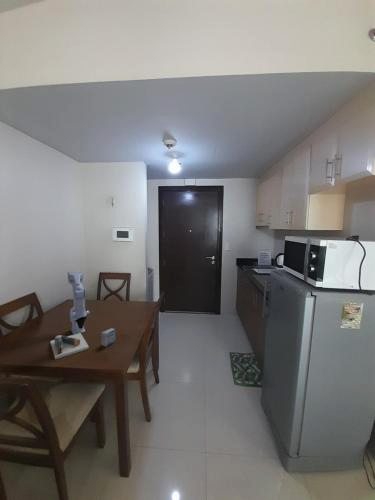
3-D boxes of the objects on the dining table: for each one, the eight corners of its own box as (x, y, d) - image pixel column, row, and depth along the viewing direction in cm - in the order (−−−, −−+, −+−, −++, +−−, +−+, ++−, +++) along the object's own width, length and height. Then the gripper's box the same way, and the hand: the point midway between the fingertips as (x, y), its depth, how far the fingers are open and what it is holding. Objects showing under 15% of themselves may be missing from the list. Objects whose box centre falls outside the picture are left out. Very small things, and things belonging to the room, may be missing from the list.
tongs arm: (54, 343, 137) (53, 337, 136) (59, 339, 141) (59, 334, 141) (74, 347, 132) (74, 341, 132) (80, 343, 136) (80, 338, 136)
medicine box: (106, 347, 136) (105, 334, 135) (101, 345, 138) (101, 332, 137) (115, 341, 143) (115, 329, 142) (111, 339, 145) (110, 327, 144)
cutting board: (50, 343, 140) (50, 340, 140) (80, 335, 151) (80, 332, 151) (55, 359, 123) (55, 356, 123) (88, 348, 134) (88, 346, 134)
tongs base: (53, 342, 138) (53, 337, 138) (62, 340, 141) (61, 335, 141) (57, 354, 125) (57, 349, 125) (66, 351, 128) (66, 346, 128)
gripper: (76, 312, 132) (77, 334, 133) (93, 305, 146) (93, 324, 147) (67, 311, 134) (68, 332, 135) (84, 303, 148) (85, 322, 149)
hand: (80, 328), depth 141 cm, fingers closed
